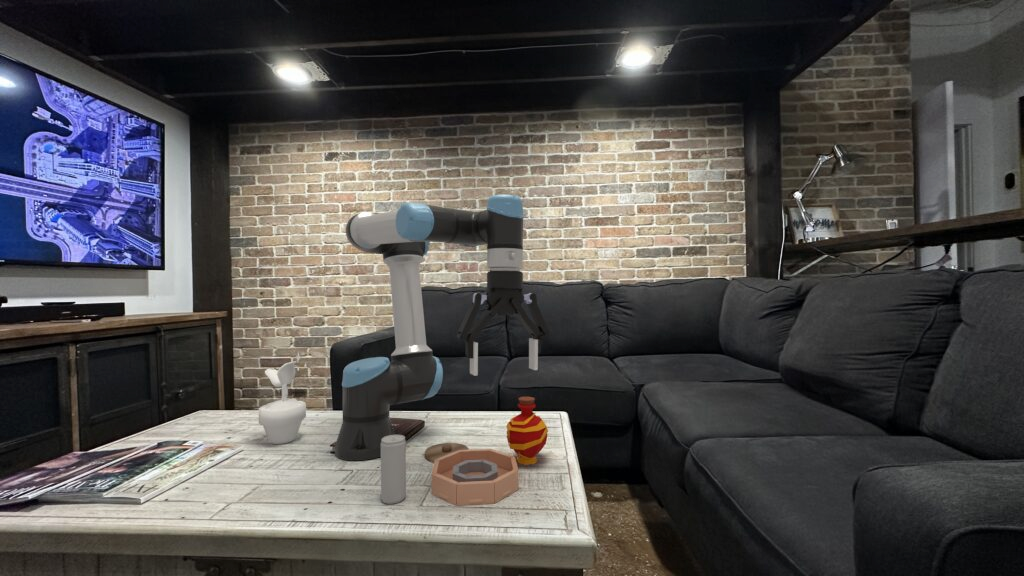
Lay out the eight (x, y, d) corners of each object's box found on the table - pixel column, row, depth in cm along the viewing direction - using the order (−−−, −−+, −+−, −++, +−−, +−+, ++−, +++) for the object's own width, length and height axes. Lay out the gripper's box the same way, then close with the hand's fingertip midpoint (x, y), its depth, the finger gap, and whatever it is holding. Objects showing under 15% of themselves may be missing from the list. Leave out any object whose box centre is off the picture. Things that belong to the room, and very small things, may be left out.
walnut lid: (415, 457, 105) (415, 447, 105) (448, 445, 113) (448, 435, 113) (444, 468, 98) (444, 457, 98) (477, 454, 106) (477, 444, 106)
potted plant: (314, 438, 118) (314, 349, 118) (272, 451, 108) (272, 355, 108) (289, 430, 125) (290, 347, 125) (248, 442, 115) (248, 351, 115)
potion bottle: (545, 470, 95) (545, 405, 96) (501, 467, 97) (501, 403, 98) (550, 453, 106) (550, 394, 106) (510, 450, 108) (510, 392, 108)
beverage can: (383, 507, 79) (383, 444, 79) (378, 496, 84) (378, 436, 84) (408, 501, 82) (408, 440, 82) (402, 491, 86) (402, 432, 86)
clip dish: (414, 486, 88) (414, 467, 88) (474, 459, 102) (474, 443, 102) (475, 515, 76) (475, 493, 76) (534, 480, 90) (533, 462, 90)
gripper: (452, 268, 78) (451, 380, 78) (565, 270, 89) (565, 370, 89) (441, 269, 85) (441, 373, 85) (548, 272, 96) (547, 364, 96)
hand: (504, 371), depth 87 cm, fingers open, 13 cm apart
